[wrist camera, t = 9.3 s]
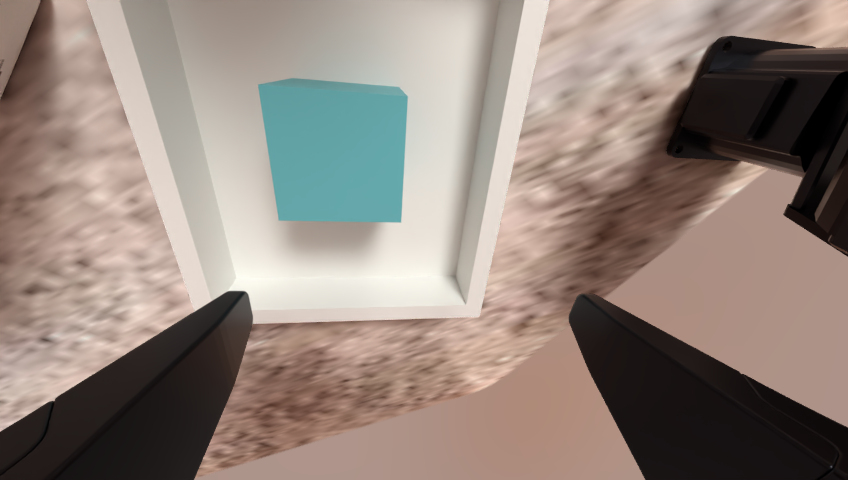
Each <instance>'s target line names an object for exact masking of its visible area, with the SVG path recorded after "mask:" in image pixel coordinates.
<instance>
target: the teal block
mask: <svg viewBox="0 0 848 480" xmlns="http://www.w3.org/2000/svg"><path fill="white" fill-rule="evenodd" d="M258 89H259V95H260V102H261V108H262V115H263V121H264V128H265V134H266V141H267V147H268V154H269V160H270V167H271V173H272V180H273V186H274V193H275V199H276V206H277V212H278V219H279V221H335V222H397V223H401V217H402V198H403V179H404V160H405V141H406V122H407V103H408V96H407V95H406V94H405V93H404V92H403V91H402V90H401V89H400V88H399V87H394V86H382V85H370V84H358V83H346V82H334V81H322V80H310V79H298V78H290V79H285V80H279V81H274V82H269V83H264V84H258Z"/></svg>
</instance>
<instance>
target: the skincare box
mask: <svg viewBox="0 0 848 480" xmlns="http://www.w3.org/2000/svg"><path fill="white" fill-rule="evenodd" d="M40 1H41V0H0V99H1V97H2V94H3V92H4V89H5V87H6V84H7V82H8V80H9V77H10V75H11V73H12V70H13V68H14V65H15V63H16V61H17V59H18V56H19V54H20V51H21V49H22V46H23V44H24V41H25V39H26V36H27V34H28V31H29V28H30V26H31V24H32V21H33V19H34V17H35V14H36V12H37V9H38V7H39V4H40Z"/></svg>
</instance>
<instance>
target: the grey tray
mask: <svg viewBox="0 0 848 480" xmlns="http://www.w3.org/2000/svg"><path fill="white" fill-rule="evenodd" d="M86 1H87V4H88V7H89V10H90V13H91V16H92V19H93V22H94V24H95V27H96V30H97V33H98V36H99V39H100V42H101V44H102V47H103V50H104V53H105V56H106V59H107V62H108V65H109V67H110V70H111V73H112V76H113V79H114V82H115V85H116V88H117V90H118V93H119V96H120V99H121V102H122V105H123V108H124V111H125V113H126V116H127V119H128V122H129V125H130V128H131V131H132V134H133V136H134V139H135V142H136V145H137V148H138V151H139V154H140V156H141V159H142V162H143V165H144V168H145V171H146V174H147V177H148V179H149V182H150V185H151V188H152V191H153V194H154V197H155V200H156V202H157V205H158V208H159V211H160V214H161V217H162V220H163V223H164V225H165V228H166V231H167V234H168V237H169V240H170V243H171V246H172V248H173V251H174V254H175V257H176V260H177V263H178V266H179V268H180V271H181V274H182V277H183V280H184V283H185V286H186V289H187V291H188V294H189V297H190V300H191V303H192V306H193V309H194V312H195V311H196V310H198V309H200V308H201V307H203V306H204V305H206V304H208V303H209V302H211V301H212V300H214V299H216V298H217V297H219V296H220V295H222V294H224V293H225V292H227V291H246V292H247V293H248V295H249V299H250V304H251V309H252V314H253V324H269V323H301V322H333V321H365V320H397V319H430V318H462V317H479V316H480V312H481V307H482V303H483V298H484V294H485V289H486V285H487V280H488V276H489V271H490V267H491V262H492V258H493V253H494V249H495V244H496V240H497V235H498V231H499V226H500V222H501V217H502V213H503V208H504V204H505V199H506V195H507V190H508V186H509V181H510V177H511V172H512V168H513V163H514V158H515V154H516V149H517V145H518V140H519V136H520V131H521V127H522V122H523V118H524V113H525V109H526V104H527V100H528V95H529V91H530V86H531V82H532V77H533V73H534V68H535V64H536V59H537V55H538V50H539V46H540V41H541V37H542V32H543V28H544V23H545V19H546V14H547V10H548V5H549V1H550V0H86ZM290 78H298V79H310V80H322V81H334V82H346V83H358V84H370V85H382V86H394V87H399V88H400V89H401V90H402V91H403V92H404V93H405V94H406V95H407V96H408V103H407V122H406V141H405V160H404V179H403V198H402V217H401V223H397V222H335V221H279V219H278V212H277V206H276V199H275V193H274V186H273V180H272V173H271V167H270V160H269V154H268V147H267V141H266V134H265V128H264V121H263V115H262V108H261V102H260V95H259V89H258V84H264V83H269V82H274V81H279V80H285V79H290Z"/></svg>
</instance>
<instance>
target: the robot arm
mask: <svg viewBox="0 0 848 480" xmlns="http://www.w3.org/2000/svg"><path fill="white" fill-rule="evenodd" d="M724 44H725V46H724ZM723 46H724V49H723ZM722 49H723V50H722ZM677 147H678V148H677ZM676 148H677V150H676ZM675 150H676V151H675ZM666 151H667V154H668V155H670V156H673V157H677V158H695V159H712V160H730V161H744V162H747V163H751V164H755V165H759V166H762V167H766V168H770V169H774V170H777V171H781V172H785V173H788V174H792V175H796V176H800V177H803V179H802V181H801V183H800V185H799V187H798V189H797V192H796V194H795V196H794V198H793V200H792V202H791V204H788V205H787V207H786V210H785V212H784V216H786V217H787V218H789V219H790V220H792V221H793V222H795V223H797V224H798V225H800V226H801V227H803V228H804V229H806V230H807V231H809V232H810V233H812V234H814V235H815V236H817V237H818V238H820V239H821V240H823V241H824V242H826V243H827V244H829V245H831V246H832V247H834V248H835V249H837V250H838V251H840V252H842V253H843V254H845V255H846V256H848V47H839V48H816V47H813V46H805V45H798V44H790V43H782V42H775V41H767V40H760V39H752V38H744V37H737V36H725V37H721V38H719V39H718V40H717V41H716V42H715V43H714V45H713V46H712V49H711V51H710V53H709V55H708V58H707V60H706V62H705V64H704V67H703V69H702V71H701V73H700V75H699V78H698V80H697V82H696V84H695V87H694V89H693V91H692V93H691V96H690V98H689V100H688V102H687V104H686V107H685V109H684V111H683V113H682V116H681V118H680V120H679V122H678V125H677V127H676V129H675V131H674V134H673V136H672V138H671V140H670V142H669V145H668V147H667V150H666ZM569 323H570V326H571V328H572V331H573V333H574V335H575V338H576V340H577V343H578V345H579V348H580V350H581V353H582V355H583V358H584V360H585V363H586V365H587V367H588V370H589V372H590V373H591V376H592V378H593V380H594V382H595V384H596V386H597V388H598V390H599V391H600V393H601V395H602V397H603V399H604V401H605V403H606V405H607V406H608V409H609V411H610V413H611V415H612V416H613V418H614V420H615V422H616V424H617V426H618V428H619V430H620V432H621V434H622V436H623V438H624V439H625V441H626V443H627V445H628V447H629V449H630V451H631V453H632V455H633V457H634V459H635V460H636V462H637V465H638V466H639V468H640V470H641V472H642V474H643V476H644V478H645V480H848V427H846V426H844V425H842V424H839V423H837V422H836V421H834V420H831V419H829V418H827V417H825V416H823V415H821V414H819V413H817V412H815V411H814V410H811V409H809V408H808V407H805V406H804V405H802V404H799V403H797V402H796V401H793V400H792V399H790V398H788V397H786V396H784V395H782V394H780V393H778V392H776V391H774V390H773V389H771V388H769V387H766V386H765V385H763V384H761V383H759V382H757V381H756V380H754V379H752V378H750V377H748V376H746V375H744V374H741V373H740V372H739V371H737V370H735V369H733V368H731V367H729V366H727V365H725V364H724V363H722V362H720V361H718V360H716V359H714V358H713V357H711V356H709V355H707V354H705V353H703V352H701V351H700V350H698V349H696V348H694V347H692V346H690V345H688V344H686V343H684V342H683V341H681V340H679V339H677V338H675V337H673V336H671V335H670V334H668V333H666V332H664V331H662V330H660V329H658V328H657V327H655V326H653V325H651V324H649V323H647V322H645V321H644V320H642V319H640V318H638V317H636V316H634V315H632V314H631V313H629V312H627V311H625V310H623V309H621V308H619V307H617V306H616V305H613V304H612V303H610V302H608V301H606V300H604V299H603V298H601V297H599V296H597V295H595V294H579V295H578V296H577V298H576V300H575V302H574V305H573V307H572V309H571V312H570V314H569ZM252 324H253V314H252V309H251V304H250V299H249V295H248V293H247V292H246V291H227V292H225V293H224V294H222V295H220V296H219V297H217V298H216V299H214V300H212V301H211V302H209V303H208V304H206V305H204V306H203V307H201V308H200V309H198V310H196V311H195V312H193V313H192V314H190V315H188V316H187V317H185V318H183V319H182V320H180V321H179V322H177V323H175V324H174V325H172V326H171V327H169V328H167V329H166V330H164V331H163V332H161V333H159V334H158V335H156V336H154V337H153V338H151V339H150V340H148V341H146V342H145V343H143V344H142V345H140V346H138V347H137V348H135V349H134V350H132V351H130V352H129V353H127V354H125V355H124V356H122V357H121V358H119V359H117V360H116V361H114V362H113V363H111V364H109V365H108V366H106V367H105V368H103V369H101V370H100V371H98V372H97V373H95V374H93V375H92V376H90V377H88V378H87V379H85V380H84V381H82V382H80V383H79V384H77V385H76V386H74V387H72V388H71V389H69V390H67V391H66V392H64V393H63V394H61V395H59V396H58V397H57V398H56V399H55V401H50V402H48V403H46V404H45V405H43V406H42V407H40V408H38V409H37V410H35V411H33V412H32V413H30V414H29V415H27V416H25V417H24V418H22V419H21V420H19V421H17V422H16V423H14V424H12V425H11V426H9V427H7V428H6V429H4V430H2V431H1V432H0V480H194V478H195V476H196V474H197V471H198V469H199V467H200V464H201V462H202V460H203V457H204V455H205V453H206V450H207V448H208V446H209V443H210V441H211V439H212V436H213V434H214V431H215V429H216V427H217V424H218V422H219V420H220V417H221V415H222V413H223V410H224V408H225V406H226V403H227V401H228V399H229V396H230V394H231V391H232V389H233V386H234V384H235V381H236V378H237V375H238V372H239V368H240V365H241V361H242V358H243V355H244V351H245V348H246V345H247V341H248V338H249V335H250V331H251V328H252Z"/></svg>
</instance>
